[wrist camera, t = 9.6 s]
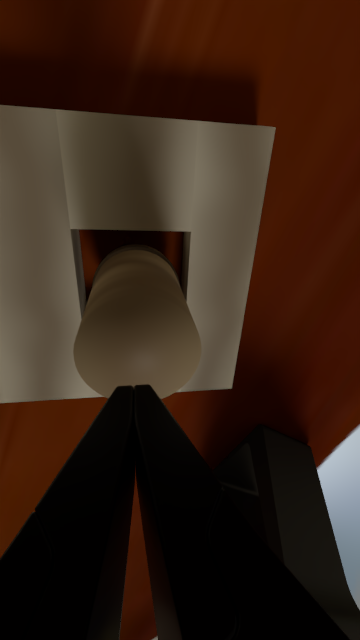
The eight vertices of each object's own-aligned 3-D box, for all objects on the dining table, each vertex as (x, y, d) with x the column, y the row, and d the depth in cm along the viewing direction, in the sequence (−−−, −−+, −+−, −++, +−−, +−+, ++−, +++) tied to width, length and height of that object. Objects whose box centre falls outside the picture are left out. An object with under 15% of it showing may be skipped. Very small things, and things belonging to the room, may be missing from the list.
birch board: (-140, 388, 17) (-172, 413, 15) (-318, 87, 10) (-409, 71, 9) (223, 369, 20) (231, 388, 18) (257, 132, 14) (275, 127, 12)
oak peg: (101, 308, 17) (79, 409, 10) (94, 235, 15) (61, 296, 8) (172, 306, 17) (198, 400, 10) (174, 236, 15) (209, 293, 8)
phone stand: (260, 422, 23) (365, 629, 13) (308, 443, 26) (430, 635, 15) (195, 487, 26) (238, 700, 16) (244, 501, 28) (309, 696, 18)
